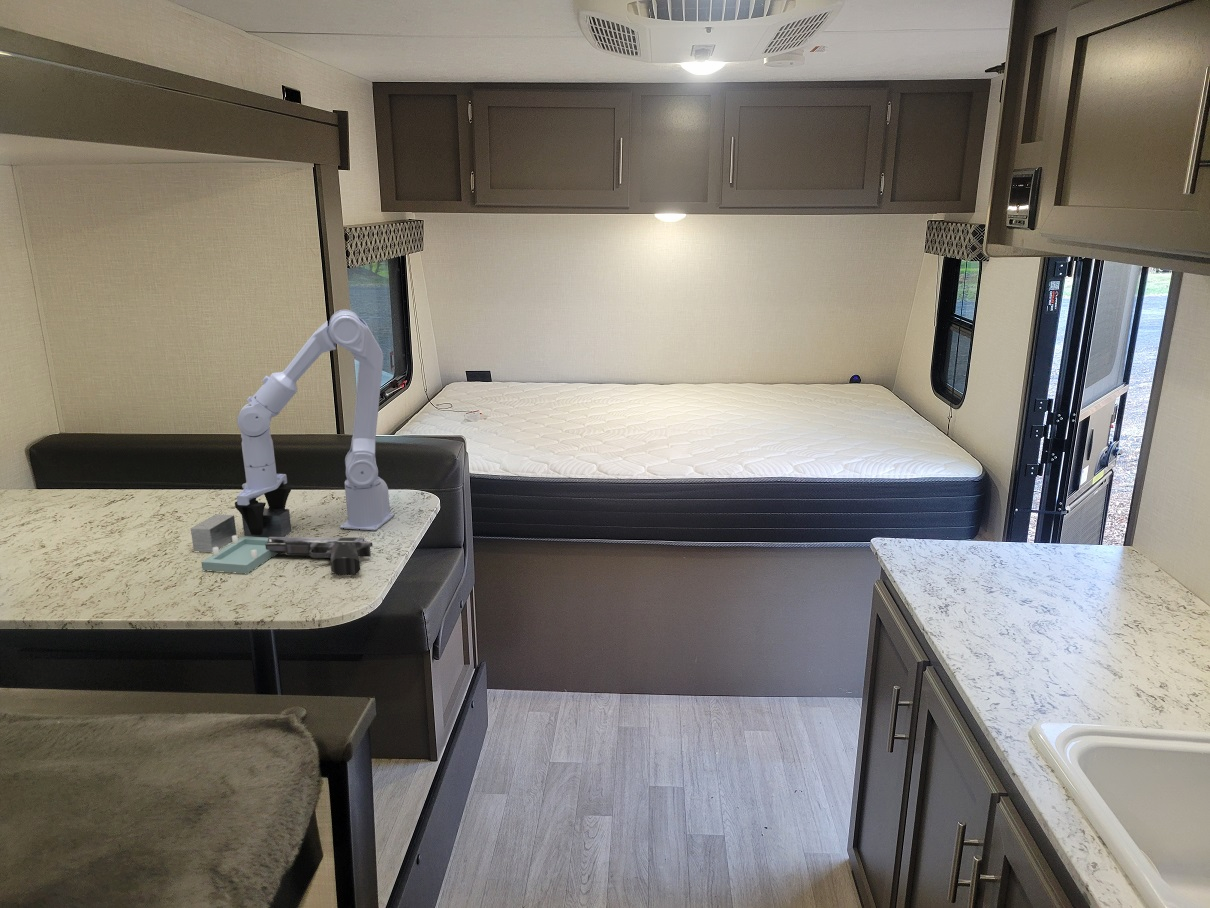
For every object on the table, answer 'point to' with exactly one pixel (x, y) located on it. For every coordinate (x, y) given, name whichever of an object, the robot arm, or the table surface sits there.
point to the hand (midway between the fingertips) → (267, 527)
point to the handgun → (325, 550)
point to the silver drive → (213, 533)
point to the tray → (239, 555)
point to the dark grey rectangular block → (272, 523)
